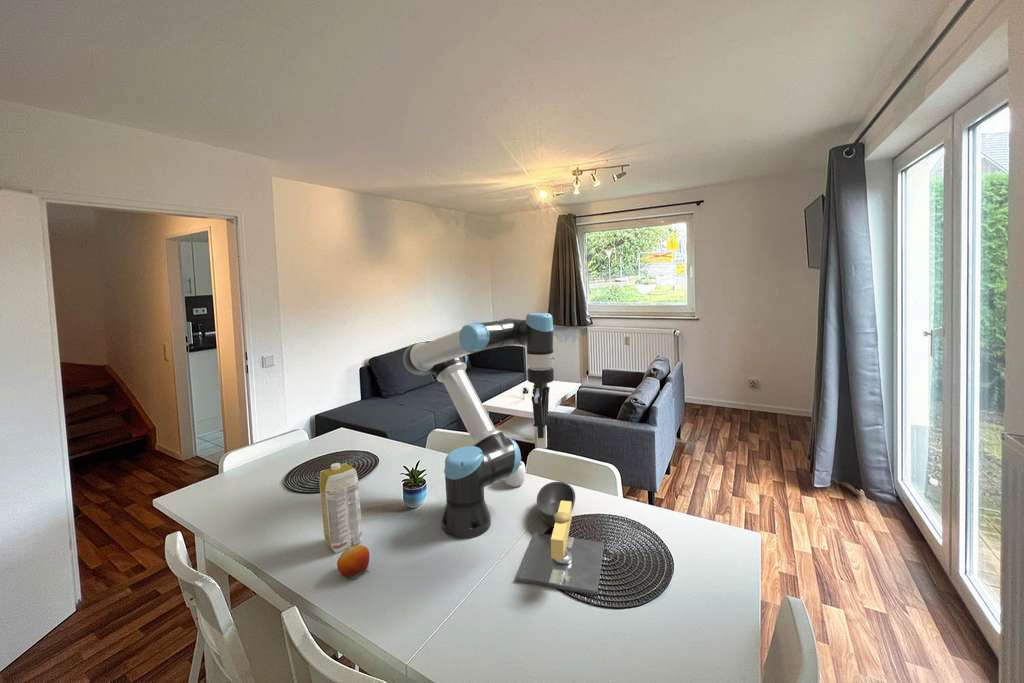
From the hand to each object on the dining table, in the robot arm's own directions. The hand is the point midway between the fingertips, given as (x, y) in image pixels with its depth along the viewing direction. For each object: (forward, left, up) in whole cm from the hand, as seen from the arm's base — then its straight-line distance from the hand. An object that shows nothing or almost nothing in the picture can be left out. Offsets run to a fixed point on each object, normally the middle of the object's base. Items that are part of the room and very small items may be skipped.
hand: (541, 447), depth 126 cm
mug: (-19, +28, -27) cm, 43 cm away
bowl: (+2, +10, -27) cm, 29 cm away
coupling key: (+8, -13, -19) cm, 24 cm away
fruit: (-44, -30, -27) cm, 60 cm away
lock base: (+8, -13, -26) cm, 31 cm away
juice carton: (-55, -20, -27) cm, 64 cm away
